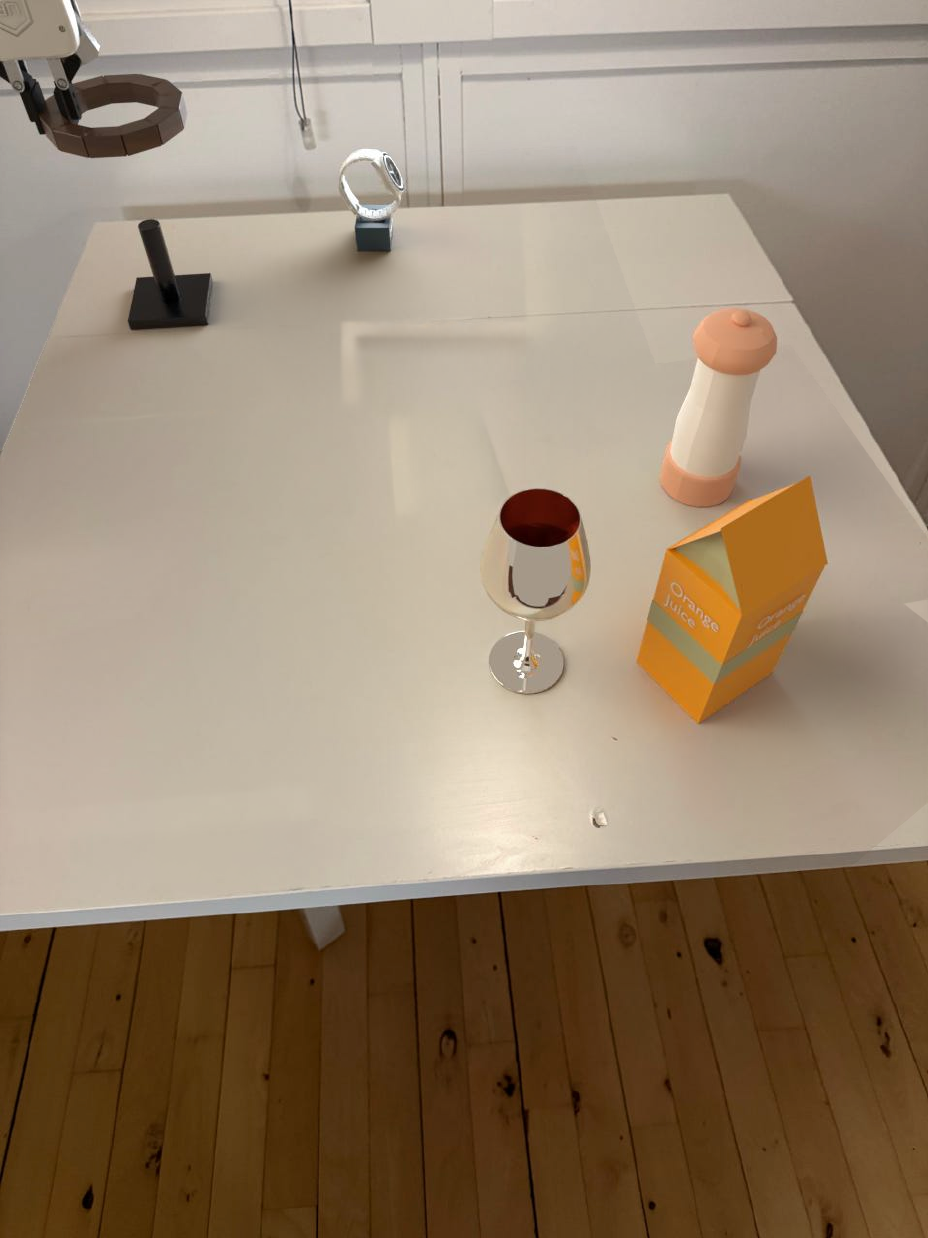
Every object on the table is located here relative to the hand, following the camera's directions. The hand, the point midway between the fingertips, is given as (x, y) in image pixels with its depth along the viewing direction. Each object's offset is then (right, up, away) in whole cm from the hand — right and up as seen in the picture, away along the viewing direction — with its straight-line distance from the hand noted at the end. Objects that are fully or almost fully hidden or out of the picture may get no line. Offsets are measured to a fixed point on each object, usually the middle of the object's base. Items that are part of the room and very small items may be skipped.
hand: (59, 125), depth 91 cm
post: (+6, -12, +18) cm, 22 cm away
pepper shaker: (+64, -36, -1) cm, 73 cm away
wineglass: (+46, -54, -14) cm, 72 cm away
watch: (+29, 0, +27) cm, 39 cm away
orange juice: (+61, -54, -14) cm, 83 cm away
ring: (+6, 0, 0) cm, 6 cm away
